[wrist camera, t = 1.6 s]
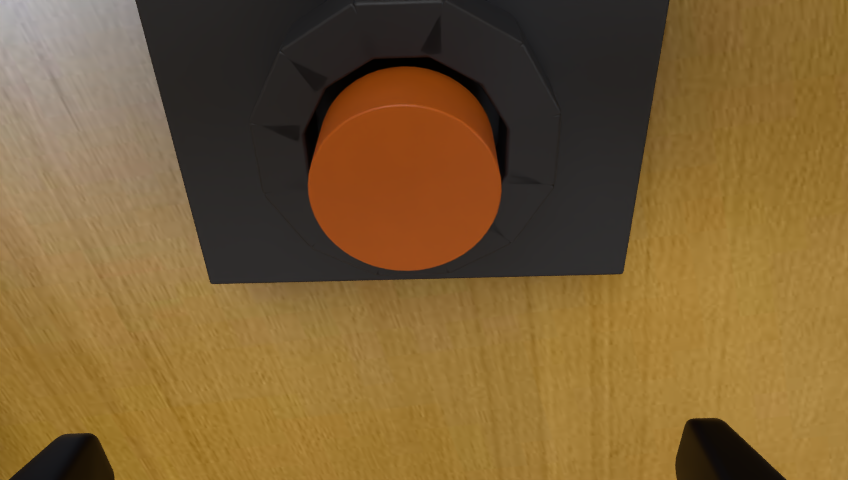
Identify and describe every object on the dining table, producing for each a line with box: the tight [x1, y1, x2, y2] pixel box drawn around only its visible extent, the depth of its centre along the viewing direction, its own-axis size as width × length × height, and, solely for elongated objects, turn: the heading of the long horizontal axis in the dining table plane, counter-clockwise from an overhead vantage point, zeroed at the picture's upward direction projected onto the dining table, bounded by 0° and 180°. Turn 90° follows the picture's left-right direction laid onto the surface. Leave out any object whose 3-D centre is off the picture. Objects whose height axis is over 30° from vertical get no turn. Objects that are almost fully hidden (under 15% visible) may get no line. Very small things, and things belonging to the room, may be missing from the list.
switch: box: [308, 66, 502, 271], centre depth 15 cm, size 4×4×2 cm
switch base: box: [135, 0, 669, 284], centre depth 17 cm, size 12×10×4 cm
